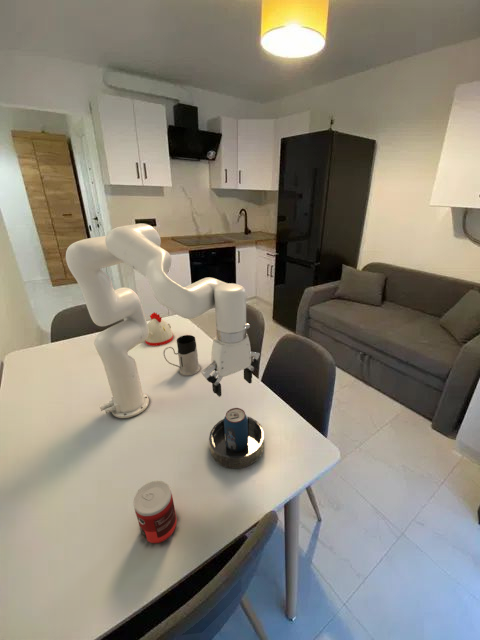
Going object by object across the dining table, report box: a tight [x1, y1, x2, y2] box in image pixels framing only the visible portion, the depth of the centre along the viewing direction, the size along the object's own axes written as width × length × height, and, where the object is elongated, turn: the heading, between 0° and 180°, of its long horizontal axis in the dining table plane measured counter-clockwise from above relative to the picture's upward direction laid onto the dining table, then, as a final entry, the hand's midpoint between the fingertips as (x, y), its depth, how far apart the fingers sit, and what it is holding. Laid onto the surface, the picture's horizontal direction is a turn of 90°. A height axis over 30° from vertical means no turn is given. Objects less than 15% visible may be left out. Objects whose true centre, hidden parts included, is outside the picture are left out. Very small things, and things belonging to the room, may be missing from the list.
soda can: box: [223, 407, 248, 452], centre depth 87 cm, size 7×7×12 cm
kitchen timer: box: [144, 312, 174, 347], centre depth 148 cm, size 14×14×15 cm
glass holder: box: [162, 334, 201, 376], centre depth 122 cm, size 9×14×15 cm, turn 125°
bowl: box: [208, 416, 265, 469], centre depth 88 cm, size 16×16×4 cm
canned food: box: [133, 480, 178, 544], centre depth 66 cm, size 8×8×11 cm
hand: (233, 387), depth 80 cm, fingers open, 9 cm apart
